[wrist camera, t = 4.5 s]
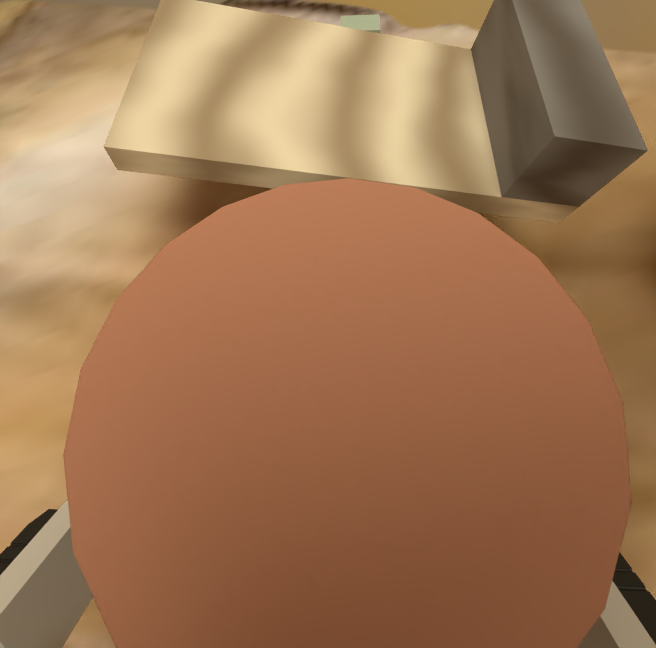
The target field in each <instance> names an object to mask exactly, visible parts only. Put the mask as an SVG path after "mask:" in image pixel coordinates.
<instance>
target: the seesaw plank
mask: <svg viewBox="0 0 656 648" xmlns="http://www.w3.org/2000/svg"><path fill="white" fill-rule="evenodd" d="M104 148H105V150H106V151H107V153H108V155H109V156H110V158H111V160H112V161H113V163H114V165H115V166H116V168H117V170H123V171H131V172H139V173H148V174H156V175H164V176H173V177H181V178H189V179H198V180H206V181H214V182H223V183H231V184H239V185H248V186H256V187H264V188H272V189H274V188H276V187H279V186H282V185H285V184H295V183H305V182H315V181H325V180H335V179H344V178H353V179H360V180H367V181H374V182H381V183H388V184H395V185H402V186H409V187H415V188H418V189H420V190H423V191H425V192H427V193H430V194H432V195H435V196H437V197H440V198H442V199H445V200H447V201H450V202H452V203H455V204H457V205H459V206H462V207H464V208H467V209H469V210H472V211H474V212H477V213H481V214H489V215H497V216H506V217H514V218H522V219H531V220H539V221H547V222H556V223H559V222H561V221H562V220H563V219H564V218H566V217H567V216H568V215H569V214H571V213H572V212H573V211H574V210H575V209H577V208H578V207H579V206H580V205H582V204H583V203H584V202H585V201H586V200H588V199H589V198H590V197H591V196H593V195H594V194H595V193H596V192H597V191H599V190H600V189H601V188H602V187H604V186H605V185H606V184H607V183H609V182H610V181H611V180H612V179H613V178H615V177H616V176H617V175H618V174H620V173H621V172H622V171H623V170H624V169H626V168H627V167H628V166H629V165H631V164H632V163H633V162H634V161H636V160H637V159H638V158H639V157H640V156H642V155H643V154H644V153H645V152H647V151H648V150H647V147H646V145H645V143H644V141H643V138H642V136H641V134H640V132H639V129H638V127H637V125H636V123H635V121H634V118H633V116H632V114H631V112H630V109H629V107H628V105H627V103H626V100H625V98H624V96H623V94H622V91H621V89H620V87H619V85H618V83H617V80H616V78H615V76H614V74H613V71H612V69H611V67H610V65H609V62H608V60H607V58H606V56H605V53H604V51H603V49H602V47H601V44H600V42H599V40H598V38H597V36H596V33H595V31H594V29H593V27H592V24H591V22H590V20H589V18H588V15H587V14H586V11H585V9H584V6H583V4H582V2H581V0H494V2H493V4H492V6H491V8H490V10H489V12H488V14H487V17H486V19H485V21H484V23H483V25H482V27H481V29H480V31H479V33H478V36H477V38H476V40H475V42H474V44H473V46H472V48H471V49H465V48H460V47H454V46H448V45H443V44H437V43H432V42H426V41H420V40H415V39H409V38H403V37H398V36H392V35H387V34H381V33H375V32H370V31H364V30H359V29H353V28H347V27H342V26H336V25H330V24H325V23H319V22H314V21H308V20H302V19H297V18H291V17H285V16H280V15H274V14H269V13H263V12H257V11H252V10H246V9H241V8H235V7H229V6H224V5H218V4H212V3H207V2H201V1H196V0H161V1H160V4H159V6H158V9H157V11H156V14H155V16H154V19H153V22H152V24H151V27H150V29H149V32H148V34H147V37H146V40H145V42H144V45H143V47H142V50H141V52H140V55H139V58H138V60H137V63H136V65H135V68H134V70H133V73H132V75H131V78H130V81H129V83H128V86H127V88H126V91H125V93H124V96H123V99H122V101H121V104H120V106H119V109H118V111H117V114H116V117H115V119H114V122H113V124H112V127H111V129H110V132H109V134H108V137H107V140H106V142H105V145H104Z"/></svg>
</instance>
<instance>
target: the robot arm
mask: <svg viewBox="0 0 656 648" xmlns="http://www.w3.org/2000/svg"><path fill="white" fill-rule="evenodd" d="M92 598H93V595H92V593H91V591H90V589H89V586H88V584H87V582H86V580H85V578H84V575H83V573H82V571H81V569H80V567H79V564H78V562H77V560H76V558H75V556H74V553H73V548H72V537H71V527H70V517H69V507H68V499H67V500H66V501H65V503H64V504H63V505H62V506H61V507H60V508H59V509H58V510H55V509H48V510H47V511H46V512H44V513H43V514H42V515H40V516H39V517H38V518H36V519H35V520H34V521H32V522H31V523H30V524H28V525H27V526H26V527H25V528H24V530H23V531H22V532H21V533H20V534H19V535H18V536H17V537H16V538H15V539H14V540H13V541H12V542H11V545H10V546H9V547H7V548H6V549H5V550H4V551H3V552H2V553H1V554H0V648H62V647H63V645H64V643H65V642H66V640H67V639H68V637H69V635H70V634H71V632H72V630H73V629H74V627H75V625H76V624H77V622H78V621H79V619H80V617H81V616H82V614H83V612H84V611H85V609H86V607H87V606H88V604H89V603H90V601H91V599H92ZM577 648H656V600H655V599H654V598H653V596H652V595H651V594H650V592H648V591H647V590H646V589H645V586H644V584H643V583H642V582H641V580H640V579H639V578H638V576H637V575H636V574H635V573H633V572H632V568H631V567H630V565H629V564H628V563H627V561H626V560H625V559H624V557H623V556H622V555H621V553H620V552H619V556H618V560H617V563H616V567H615V571H614V575H613V579H612V583H611V587H610V591H609V595H608V599H607V603H606V607H605V610H604V611H603V612H602V614H601V615H600V617H599V618H598V619H597V621H596V622H595V623H594V625H593V626H592V628H591V629H590V630H589V632H588V633H587V635H586V636H585V637H584V639H583V640H582V642H581V643H580V644H579V646H578V647H577Z"/></svg>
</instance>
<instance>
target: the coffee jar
mask: <svg viewBox="0 0 656 648" xmlns="http://www.w3.org/2000/svg"><path fill="white" fill-rule="evenodd" d="M63 456H64V466H65V476H66V486H67V497H68V507H69V517H70V527H71V537H72V548H73V553H74V556H75V558H76V560H77V562H78V564H79V567H80V569H81V571H82V573H83V575H84V578H85V580H86V582H87V584H88V586H89V589H90V591H91V593H92V595H93V597H94V600H95V602H96V604H97V606H98V609H99V611H100V613H101V615H102V617H103V620H104V622H105V624H106V626H107V628H108V631H109V633H110V635H111V637H112V639H113V642H114V644H115V646H116V648H577V647H578V646H579V644H580V643H581V642H582V640H583V639H584V637H585V636H586V635H587V633H588V632H589V630H590V629H591V628H592V626H593V625H594V623H595V622H596V621H597V619H598V618H599V617H600V615H601V614H602V612H603V611H604V610H605V607H606V603H607V599H608V595H609V591H610V587H611V583H612V579H613V575H614V571H615V567H616V563H617V560H618V556H619V552H620V548H621V544H622V540H623V536H624V532H625V528H626V524H627V520H628V516H629V512H630V508H631V504H632V501H631V489H630V478H629V467H628V456H627V445H626V434H625V422H624V411H623V403H622V401H621V398H620V396H619V393H618V391H617V389H616V386H615V384H614V381H613V379H612V376H611V374H610V372H609V369H608V367H607V364H606V362H605V359H604V357H603V355H602V352H601V350H600V347H599V345H598V343H597V340H596V338H595V335H594V333H593V330H592V328H591V326H590V323H589V321H588V320H587V318H586V317H585V316H584V315H583V313H582V312H581V311H580V309H579V308H578V307H577V306H576V304H575V303H574V302H573V301H572V299H571V298H570V297H569V296H568V294H567V293H566V292H565V291H564V289H563V288H562V287H561V286H560V284H559V283H558V282H557V281H556V279H555V278H554V277H553V275H552V274H551V273H550V272H549V270H548V269H547V268H546V267H545V265H544V264H543V263H542V262H541V260H540V259H539V258H538V257H537V256H536V255H534V254H533V253H532V252H530V251H529V250H528V249H526V248H525V247H523V246H522V245H521V244H519V243H518V242H517V241H515V240H514V239H513V238H511V237H510V236H509V235H507V234H506V233H505V232H503V231H502V230H500V229H499V228H498V227H496V226H495V225H494V224H492V223H491V222H490V221H488V220H487V219H486V218H484V217H483V216H482V215H480V214H479V213H477V212H474V211H472V210H469V209H467V208H464V207H462V206H459V205H457V204H455V203H452V202H450V201H447V200H445V199H442V198H440V197H437V196H435V195H432V194H430V193H427V192H425V191H423V190H420V189H418V188H415V187H409V186H402V185H395V184H388V183H381V182H374V181H367V180H360V179H353V178H344V179H335V180H325V181H315V182H305V183H295V184H285V185H282V186H279V187H276V188H274V189H271V190H268V191H265V192H262V193H260V194H257V195H254V196H251V197H248V198H245V199H243V200H240V201H237V202H234V203H231V204H229V205H226V206H223V207H221V208H220V209H218V210H217V211H215V212H214V213H212V214H211V215H209V216H208V217H206V218H205V219H203V220H202V221H200V222H199V223H197V224H196V225H194V226H193V227H191V228H190V229H188V230H187V231H185V232H184V233H182V234H181V235H179V236H178V237H176V238H175V239H173V240H172V241H170V242H169V243H167V244H166V245H165V246H164V247H163V248H162V249H161V250H160V251H159V253H158V254H157V255H156V256H155V257H154V258H153V259H152V260H151V261H150V263H149V264H148V265H147V266H146V267H145V268H144V269H143V270H142V271H141V273H140V274H139V275H138V276H137V277H136V278H135V279H134V280H133V281H132V282H131V284H130V285H129V286H128V287H127V288H126V289H125V290H124V291H123V292H122V294H121V295H120V296H119V297H118V298H117V300H116V302H115V304H114V305H113V307H112V309H111V311H110V313H109V315H108V317H107V319H106V321H105V323H104V325H103V327H102V329H101V331H100V333H99V335H98V337H97V339H96V340H95V342H94V344H93V346H92V348H91V350H90V352H89V354H88V356H87V358H86V360H85V362H84V364H83V366H82V368H81V371H80V376H79V381H78V386H77V391H76V395H75V400H74V405H73V410H72V415H71V420H70V425H69V430H68V435H67V440H66V445H65V450H64V455H63Z"/></svg>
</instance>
